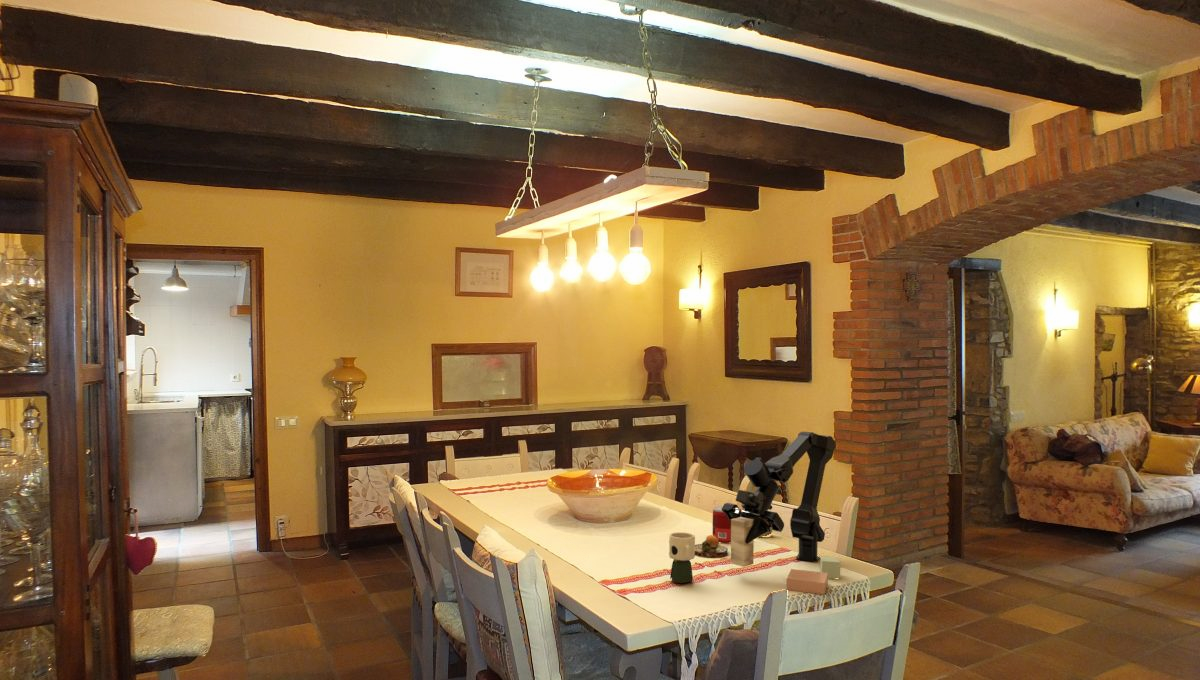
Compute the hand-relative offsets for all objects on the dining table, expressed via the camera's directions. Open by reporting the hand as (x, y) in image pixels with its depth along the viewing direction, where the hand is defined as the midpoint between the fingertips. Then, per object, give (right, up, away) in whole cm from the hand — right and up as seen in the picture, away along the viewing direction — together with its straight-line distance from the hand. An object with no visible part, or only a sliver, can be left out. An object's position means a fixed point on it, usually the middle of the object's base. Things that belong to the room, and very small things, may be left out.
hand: (739, 540), depth 215 cm
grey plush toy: (+18, -12, +52) cm, 56 cm away
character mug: (-17, -11, -3) cm, 20 cm away
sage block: (+27, -12, +5) cm, 30 cm away
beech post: (+1, -7, +1) cm, 7 cm away
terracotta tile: (+18, -11, -6) cm, 22 cm away
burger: (-4, -12, +29) cm, 31 cm away
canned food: (+3, -12, +45) cm, 47 cm away
